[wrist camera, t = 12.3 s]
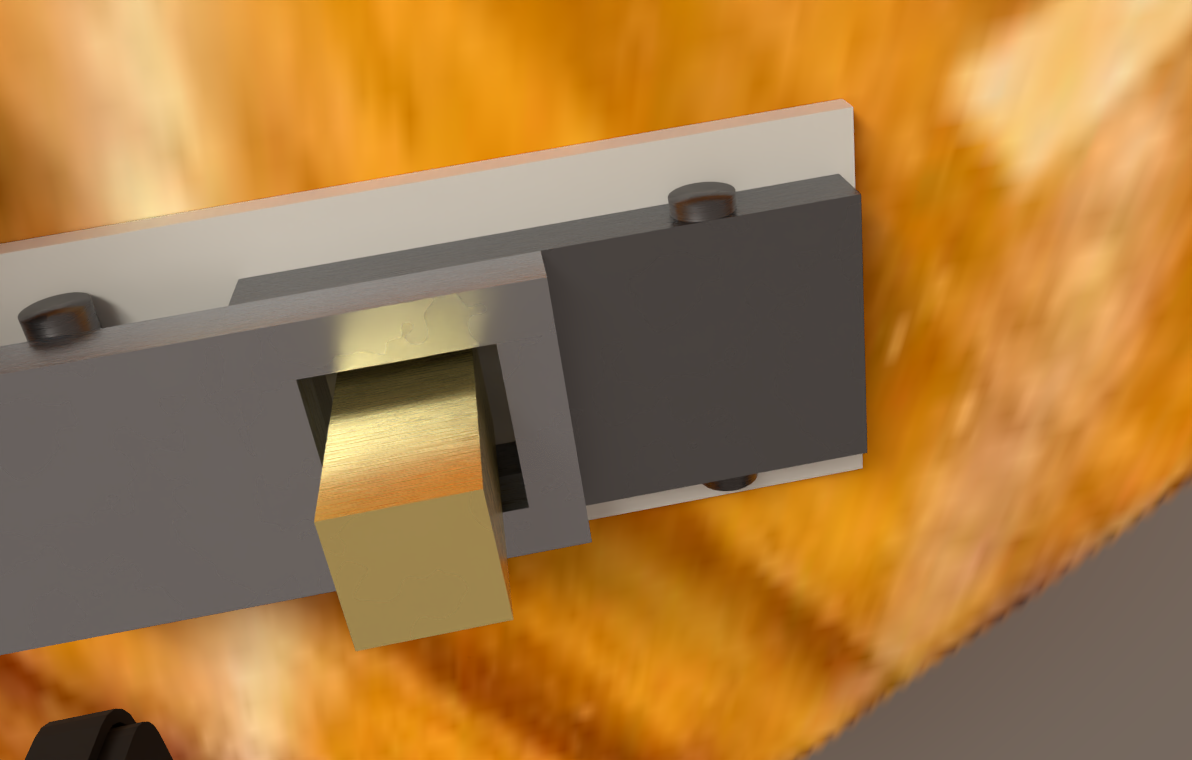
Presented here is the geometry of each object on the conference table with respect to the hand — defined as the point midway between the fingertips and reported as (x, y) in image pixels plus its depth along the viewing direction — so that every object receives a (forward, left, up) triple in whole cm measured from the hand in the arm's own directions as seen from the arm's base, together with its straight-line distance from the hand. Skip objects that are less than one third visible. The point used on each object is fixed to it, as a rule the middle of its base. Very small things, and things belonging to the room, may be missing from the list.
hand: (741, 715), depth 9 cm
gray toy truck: (+5, +10, -26) cm, 28 cm away
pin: (+5, +10, -26) cm, 28 cm away
